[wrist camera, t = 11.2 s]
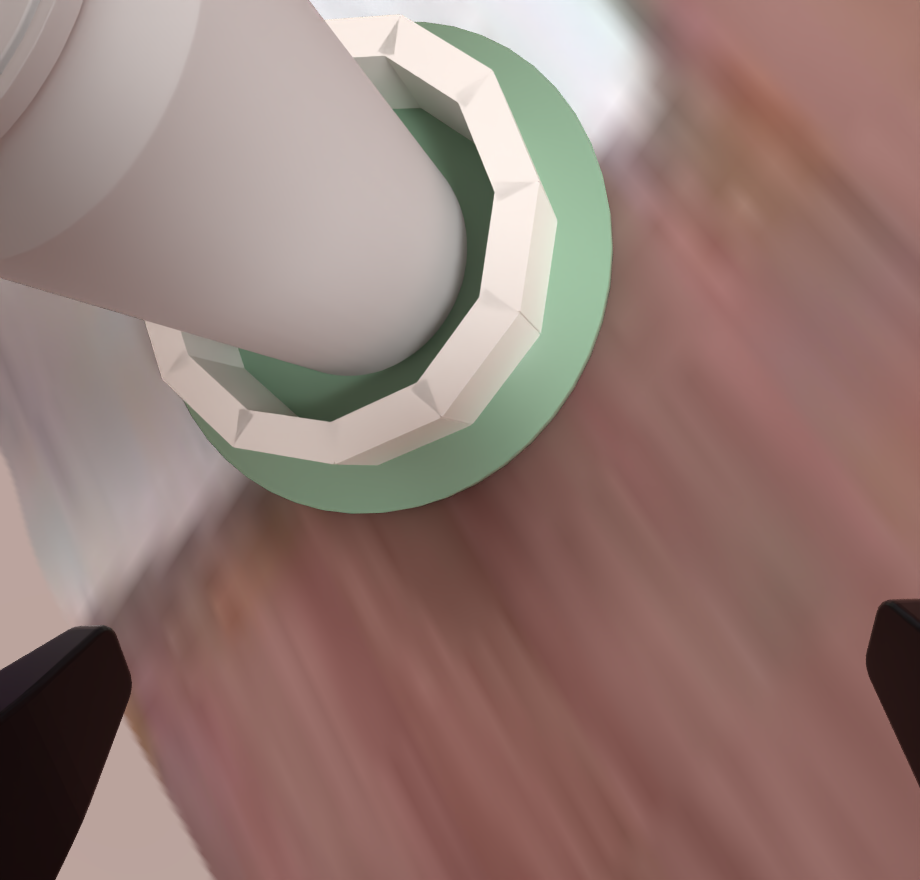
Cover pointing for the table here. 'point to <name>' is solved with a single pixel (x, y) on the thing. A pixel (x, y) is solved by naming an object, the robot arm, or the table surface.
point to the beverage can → (221, 179)
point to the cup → (470, 320)
